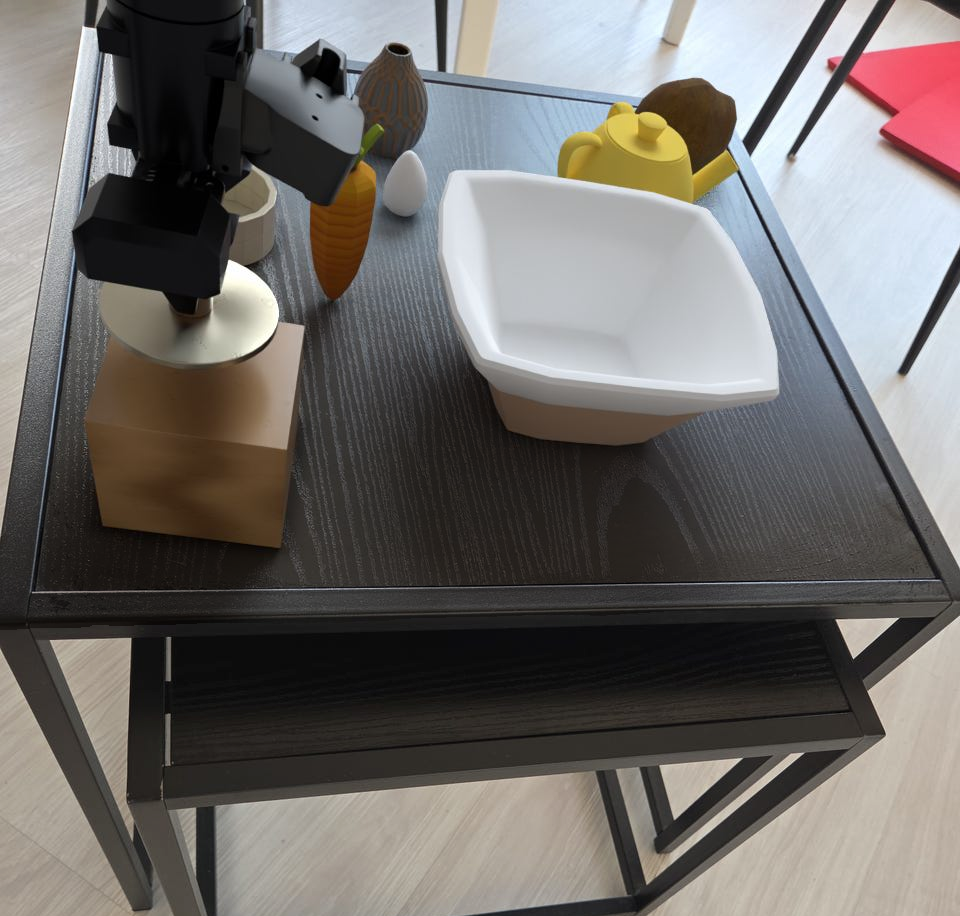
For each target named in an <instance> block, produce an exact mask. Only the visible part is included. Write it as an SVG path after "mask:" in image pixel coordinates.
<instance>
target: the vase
mask: <svg viewBox="0 0 960 916" xmlns="http://www.w3.org/2000/svg"><path fill="white" fill-rule="evenodd" d="M353 94H355V95H356V96H358V97H359V98H360V100H359V108H360V109H361V110H362V112H363V114H364V117H365V122H364V129H363V137H362V140H363V138H364V136H365V134H366V133H367V132H368V131H369V130H370V128H371V127H373V126H374V125H375V124H378V125H380V126H381V127H382V128H383V130H384V133H383V134H382V135H381V136H380V137H379V138H378V139H377V140H376V141H375V143H374V144H373V145H372V147H371V148H370V149H369V152H371V153H373V154H375V155H377V156H379V157H383V158H388V159H389V158H390V159H392V158H399V157H400V156H401V155H402V154H403V153H404V152H406V151H409V150H410V151H412V150H413V149H414V148H415V147H416V146H417V144H418V143H419V142H420V139H421V138H422V136H423V134H424V131H425V128H426V125H427V120H428V115H429V114H428V113H429V99H428V98H429V97H428V92H427V87H426V84H425V82H424V79H423V76H422V75H421V73H420V71H419V69H418V67H417V64H416V63H415V60H414V56H413V52H412V49H411V48H410V47H409V46H407V45H405V44H403V43H401V42H398V41H397V42H396V41H391V42H387V43H386V44H384V46H383V48H382V49H381V52H379V54H378V55H377V56H376V57H375V58H374V59H373V60H372V61H370V62H369V64H367V65H366V66H365V68H364V69H363V71H362V72H361V73H360V75H359V77H358V79H357V82H356V84H355V86H354V91H353Z"/></svg>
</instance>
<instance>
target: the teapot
mask: <svg viewBox="0 0 960 916" xmlns="http://www.w3.org/2000/svg"><path fill="white" fill-rule="evenodd" d="M556 171H557V172H556V173H557V175H556V177H560V178H566V179H573V180H580V181H587V182H593V183H599V184H605V185H611V186H617V187H623V188H629V189H636V190H642V191H648V192H654V193H657V194H660V195H664V196H667V197H671V198H674V199H677V200H681V201H684V202H687V203H691V204H694V203H696V202H697V201H698V200H699V199H701V198H703V197H704V196H705V195H707V194H708V193H709V192H711V191H712V190H713V189H715V188H716V187H718V186H719V185H720V184H722V183H723V182H724V181H726V180H727V179H729V178H730V177H731V176H732V175H734V174H735V173H737V172H739V167H738V166H737V164H736V162H735V160H734V158H733V157H732V155H731V154H730V152H729V151H728V150H727V149H726V150H725V152H724V153H722V154H721V155H720V156H718V157H717V158H716V159H714V160H713V161H712V162H710V163H709V164H708V165H706V166H705V167H704V168H702V169H701V170H700V171H698V172H697V173H695V174H692V169H691V163H690V157H689V154H688V150H687V146H686V144H685V142H684V140H683V139H682V137H681V136H680V135H679V134H678V133H677V132H676V131H675V130H674V129H672V128H671V127H670V126H668V125H667V123H666V121H665V120H664V119H663V118H662V117H661V116H659V115H657V114H655V113H651V112H643V113H640V114H635V108H634V107H633V105H632V104H630V103H628V102H626V101H617V102H615V103H613V104H612V105H611V107H610V108H609V111H608V113H607V115H606V119H605V121H603V122H602V123H600V125H598V126H597V127H596V128H595V129H594V130H592V131H586V130H585V131H584V130H583V131H579V132H576V133H573V134H572V135H570V136H569V137H567V138H566V139H565V140H564V141H563V143H562V145H561V147H560V149H559V152H558V157H557V170H556Z"/></svg>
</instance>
